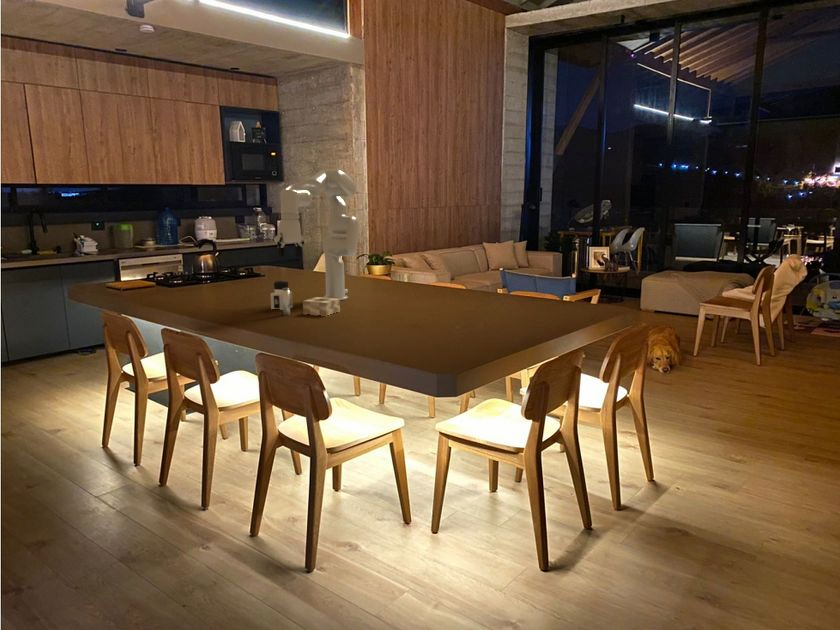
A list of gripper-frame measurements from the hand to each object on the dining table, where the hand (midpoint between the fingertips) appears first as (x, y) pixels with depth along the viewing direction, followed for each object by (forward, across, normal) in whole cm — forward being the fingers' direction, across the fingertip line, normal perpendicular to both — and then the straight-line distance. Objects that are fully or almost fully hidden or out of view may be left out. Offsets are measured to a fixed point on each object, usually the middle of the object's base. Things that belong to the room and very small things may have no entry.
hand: (290, 256), depth 283 cm
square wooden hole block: (+25, -9, +10) cm, 29 cm away
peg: (+26, +4, +2) cm, 26 cm away
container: (+26, -5, -12) cm, 29 cm away
